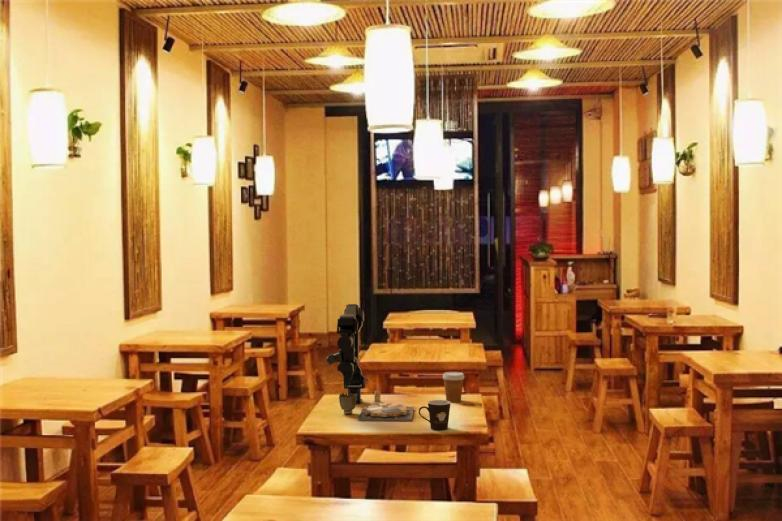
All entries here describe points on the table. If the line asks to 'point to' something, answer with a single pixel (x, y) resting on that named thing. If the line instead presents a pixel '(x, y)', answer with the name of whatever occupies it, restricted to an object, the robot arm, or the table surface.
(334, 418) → the table surface
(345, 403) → the cup
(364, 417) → the base plate
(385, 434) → the table surface
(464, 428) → the table surface
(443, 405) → the coffee mug
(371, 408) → the index wheel
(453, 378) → the disposable coffee cup
